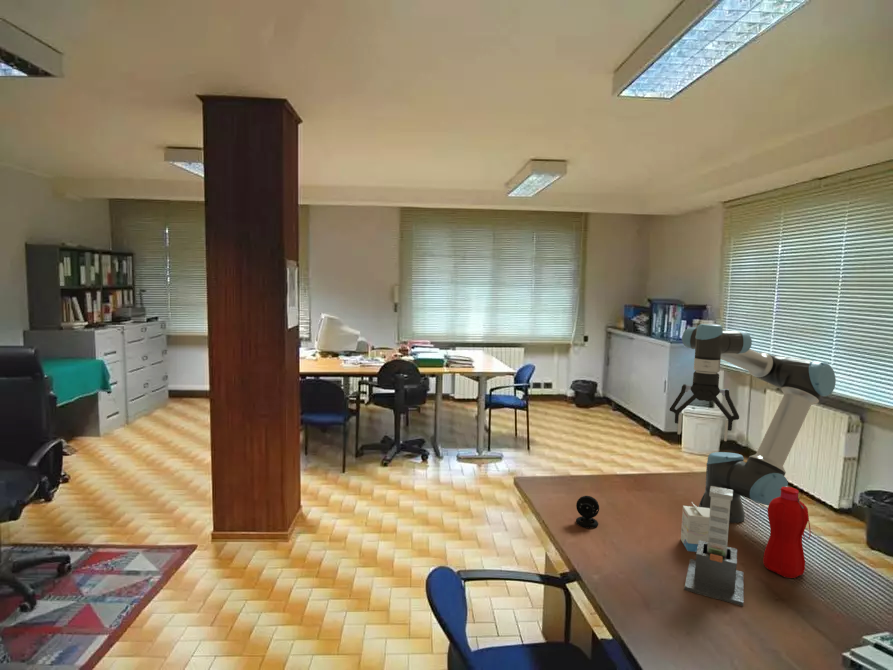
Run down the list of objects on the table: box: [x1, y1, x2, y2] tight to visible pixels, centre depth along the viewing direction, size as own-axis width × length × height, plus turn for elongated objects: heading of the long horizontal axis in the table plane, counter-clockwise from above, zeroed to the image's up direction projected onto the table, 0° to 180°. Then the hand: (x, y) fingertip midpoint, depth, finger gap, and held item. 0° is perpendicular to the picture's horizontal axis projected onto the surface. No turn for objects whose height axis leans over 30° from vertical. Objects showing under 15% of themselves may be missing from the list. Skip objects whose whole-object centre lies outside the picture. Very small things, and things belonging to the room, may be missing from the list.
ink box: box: [680, 502, 710, 553], centre depth 168 cm, size 9×8×13 cm
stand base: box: [683, 540, 745, 607], centre depth 147 cm, size 18×14×10 cm
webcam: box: [575, 495, 600, 529], centre depth 183 cm, size 8×8×10 cm
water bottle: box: [762, 486, 812, 579], centre depth 153 cm, size 9×11×25 cm
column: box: [707, 486, 733, 559], centre depth 146 cm, size 6×6×19 cm
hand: (701, 436), depth 171 cm, fingers open, 13 cm apart
